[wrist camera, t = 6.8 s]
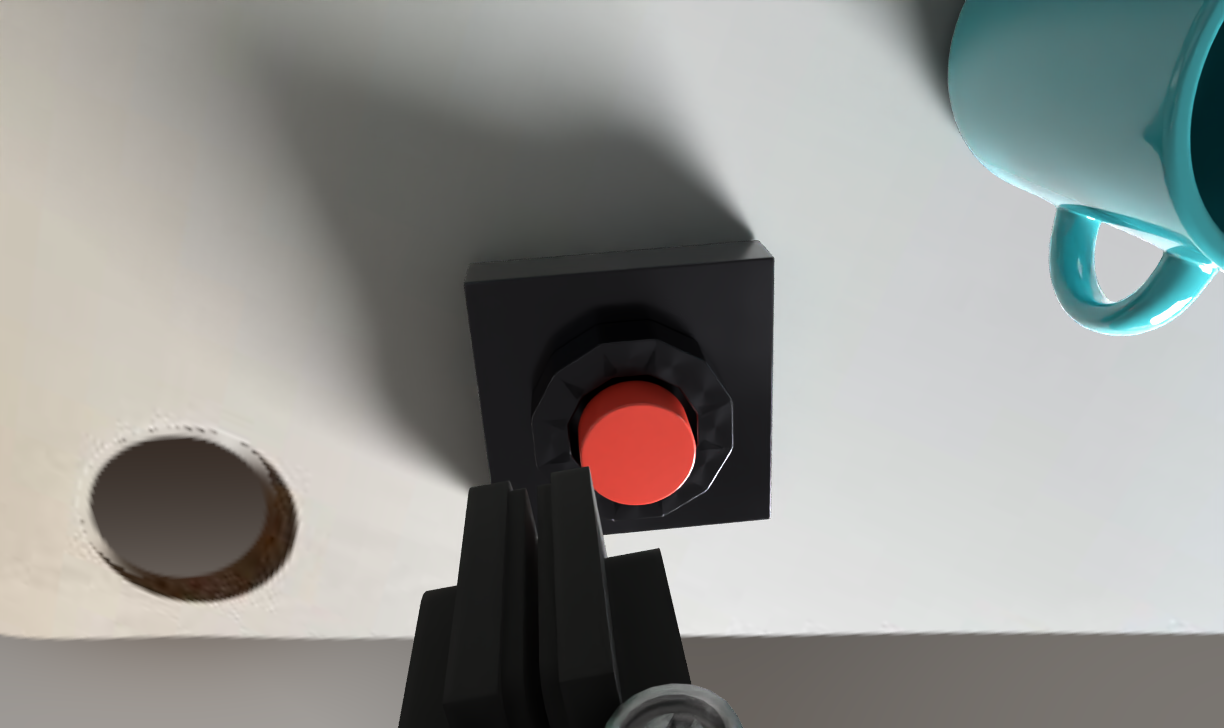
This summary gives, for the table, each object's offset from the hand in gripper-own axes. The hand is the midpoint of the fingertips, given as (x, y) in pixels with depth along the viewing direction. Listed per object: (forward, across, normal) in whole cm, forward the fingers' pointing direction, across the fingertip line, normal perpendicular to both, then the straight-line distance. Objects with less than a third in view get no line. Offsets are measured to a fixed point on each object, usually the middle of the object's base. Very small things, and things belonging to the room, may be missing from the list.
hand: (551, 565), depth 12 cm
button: (+15, -2, +6) cm, 16 cm away
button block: (+19, -2, +6) cm, 20 cm away
